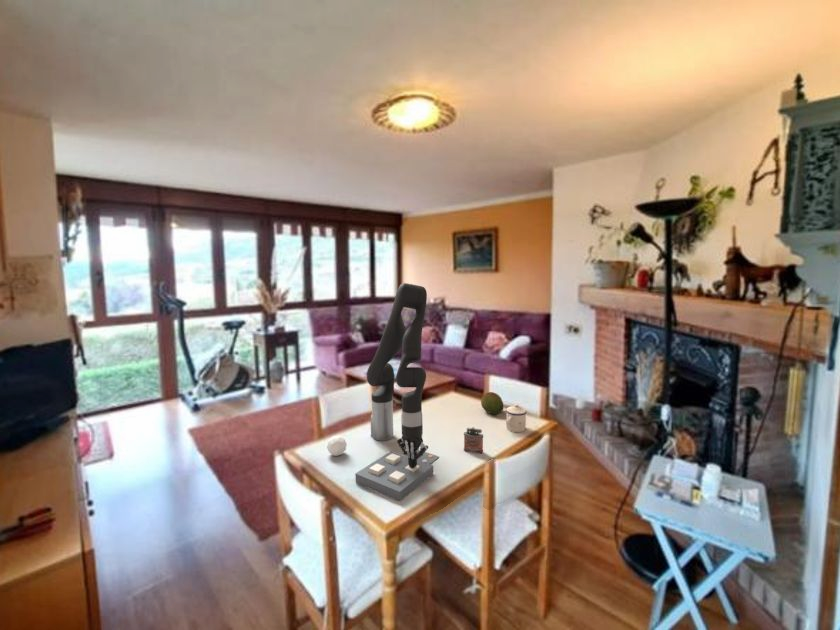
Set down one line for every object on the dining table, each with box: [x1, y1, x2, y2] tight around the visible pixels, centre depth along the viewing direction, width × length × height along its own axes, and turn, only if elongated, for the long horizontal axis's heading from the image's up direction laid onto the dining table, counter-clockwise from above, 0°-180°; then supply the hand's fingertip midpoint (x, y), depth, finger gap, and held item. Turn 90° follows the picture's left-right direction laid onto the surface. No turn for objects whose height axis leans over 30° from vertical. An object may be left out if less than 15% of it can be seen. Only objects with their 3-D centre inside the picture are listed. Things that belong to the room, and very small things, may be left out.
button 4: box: [389, 471, 405, 484], centre depth 139 cm, size 4×4×3 cm
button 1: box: [386, 454, 401, 465], centre depth 151 cm, size 4×4×3 cm
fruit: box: [480, 391, 504, 415], centre depth 205 cm, size 12×13×10 cm
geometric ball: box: [326, 435, 348, 457], centre depth 163 cm, size 8×8×8 cm
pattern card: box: [417, 449, 440, 465], centre depth 160 cm, size 10×8×1 cm
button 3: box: [369, 464, 385, 476], centre depth 144 cm, size 4×4×3 cm
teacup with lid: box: [505, 403, 527, 433], centre depth 184 cm, size 12×9×12 cm
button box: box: [354, 450, 434, 502], centre depth 145 cm, size 20×20×4 cm
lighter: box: [463, 426, 484, 455], centre depth 164 cm, size 8×3×10 cm, turn 69°
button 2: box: [405, 465, 420, 472], centre depth 146 cm, size 4×4×3 cm
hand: (412, 467), depth 146 cm, fingers closed
